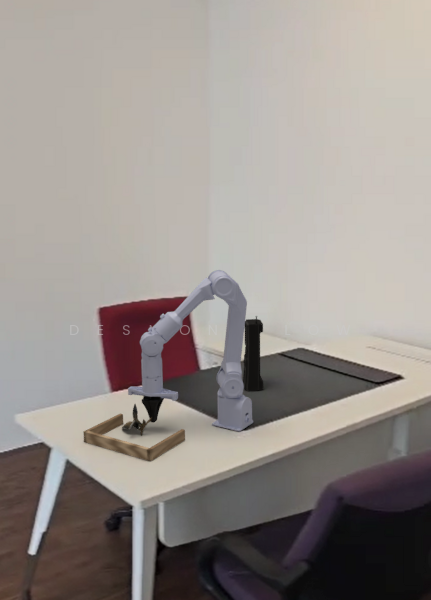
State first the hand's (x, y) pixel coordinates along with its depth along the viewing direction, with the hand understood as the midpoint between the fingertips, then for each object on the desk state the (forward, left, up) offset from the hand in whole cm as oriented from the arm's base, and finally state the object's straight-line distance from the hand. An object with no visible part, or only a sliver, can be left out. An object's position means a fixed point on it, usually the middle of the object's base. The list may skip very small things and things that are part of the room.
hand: (153, 421), depth 185 cm
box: (0, +9, -3) cm, 9 cm away
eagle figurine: (+4, +3, -3) cm, 6 cm away
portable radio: (-6, -45, -3) cm, 45 cm away
